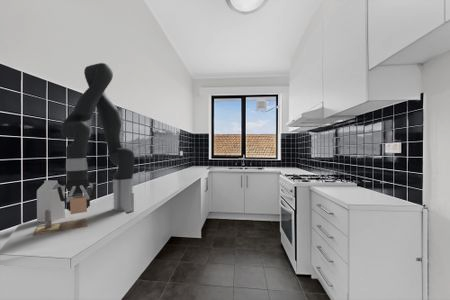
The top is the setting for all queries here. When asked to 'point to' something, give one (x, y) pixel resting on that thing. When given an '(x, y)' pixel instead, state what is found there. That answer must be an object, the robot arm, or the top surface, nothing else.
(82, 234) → the top surface
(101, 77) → the robot arm
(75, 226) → the post board
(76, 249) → the top surface
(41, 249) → the top surface
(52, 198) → the milk carton
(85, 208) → the sleeve
